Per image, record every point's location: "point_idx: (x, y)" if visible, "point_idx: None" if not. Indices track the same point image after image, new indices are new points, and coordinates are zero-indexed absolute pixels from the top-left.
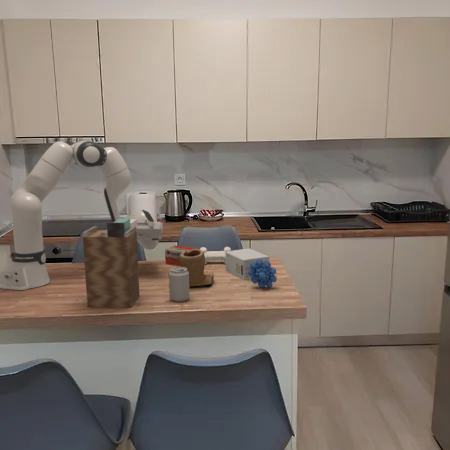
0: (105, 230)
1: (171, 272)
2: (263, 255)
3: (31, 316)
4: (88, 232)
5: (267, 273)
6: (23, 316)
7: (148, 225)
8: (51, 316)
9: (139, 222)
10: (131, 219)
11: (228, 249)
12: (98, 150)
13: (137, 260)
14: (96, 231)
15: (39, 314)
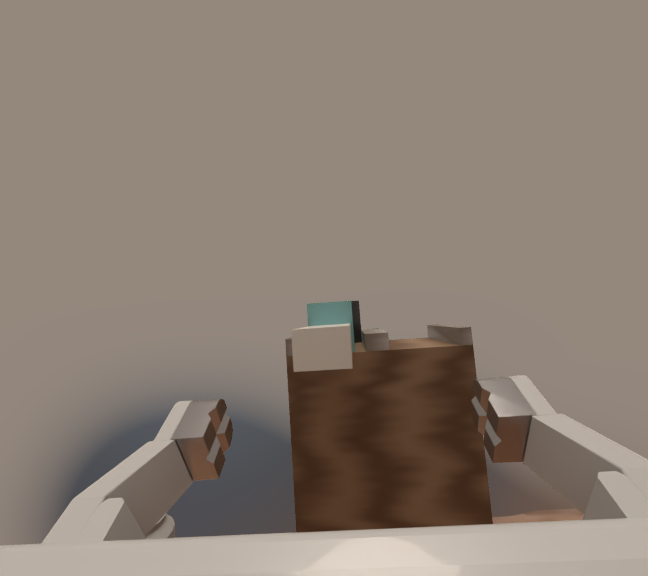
0: (420, 347)
1: (166, 514)
2: None
3: (555, 514)
4: (433, 330)
5: None
6: (576, 513)
7: (176, 494)
8: (505, 517)
9: (323, 541)
10: (326, 327)
11: None
12: None
13: (295, 490)
14: (446, 343)
15: None
